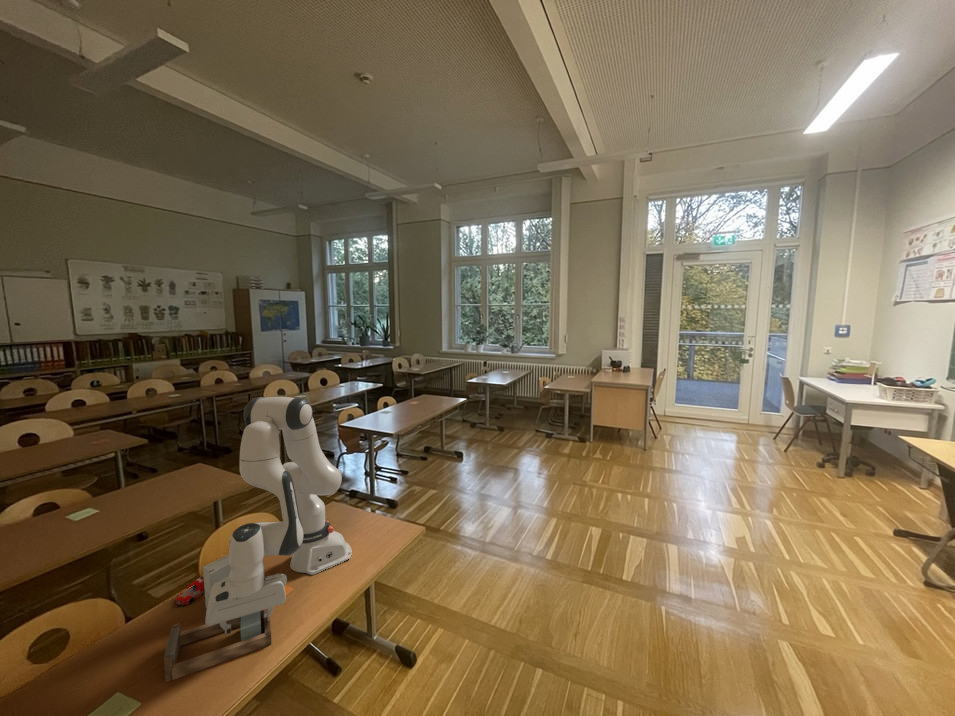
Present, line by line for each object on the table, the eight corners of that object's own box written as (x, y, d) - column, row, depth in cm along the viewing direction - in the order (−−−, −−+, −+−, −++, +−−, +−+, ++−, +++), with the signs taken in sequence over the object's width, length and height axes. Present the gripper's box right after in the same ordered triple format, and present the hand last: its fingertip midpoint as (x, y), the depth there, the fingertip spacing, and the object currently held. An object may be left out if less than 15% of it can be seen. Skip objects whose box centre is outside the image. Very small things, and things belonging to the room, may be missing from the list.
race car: (185, 609, 122) (184, 597, 122) (171, 605, 124) (171, 594, 123) (221, 581, 135) (220, 571, 135) (208, 579, 136) (208, 568, 136)
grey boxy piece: (260, 622, 117) (260, 604, 117) (261, 640, 111) (260, 621, 110) (241, 629, 115) (240, 610, 114) (241, 647, 108) (240, 628, 108)
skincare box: (232, 594, 129) (231, 552, 128) (240, 601, 126) (239, 559, 124) (203, 608, 122) (202, 565, 121) (211, 617, 119) (209, 572, 117)
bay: (269, 613, 121) (268, 595, 121) (271, 644, 110) (270, 624, 109) (173, 644, 109) (172, 625, 108) (164, 683, 97) (162, 661, 97)
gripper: (286, 565, 119) (286, 607, 120) (206, 586, 109) (207, 631, 110) (287, 577, 113) (287, 620, 114) (203, 600, 103) (204, 647, 104)
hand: (247, 626), depth 112 cm, fingers open, 8 cm apart
